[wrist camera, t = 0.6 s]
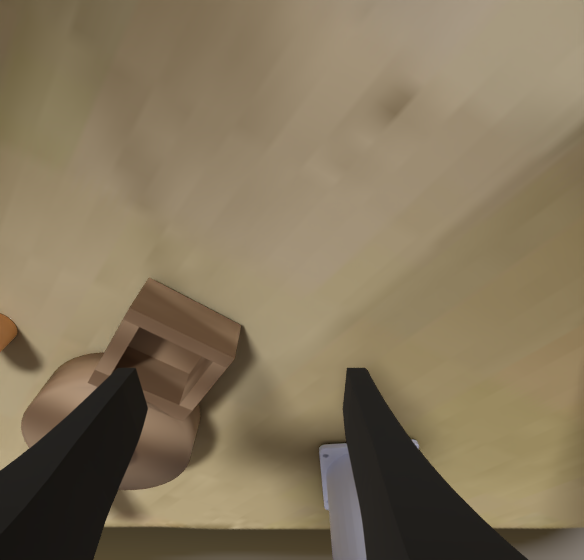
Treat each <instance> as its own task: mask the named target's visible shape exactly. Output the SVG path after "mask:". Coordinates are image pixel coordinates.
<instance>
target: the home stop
mask: <svg viewBox="0 0 584 560" xmlns="http://www.w3.org/2000/svg"><path fill="white" fill-rule="evenodd" d="M16 335H17V328H16V326H15V324H14V323H13V322H12V321H11V320H10V319H9V318H8V317H6V316H4V315H3V314H0V352H1V351H2V350H3V349H4V348H5V347H6V346H7V345H8V344H9V343H10V342H11V341H12V340H13V339H14V338H15V337H16Z"/></svg>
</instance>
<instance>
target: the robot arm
mask: <svg viewBox="0 0 584 560" xmlns="http://www.w3.org/2000/svg"><path fill="white" fill-rule="evenodd" d="M147 411H148V406H147V403H146V400H145V396H144V393H143V390H142V387H141V383H140V380H139V377H138V373H137V370H136V368H117V369H116V370H115V371H114V372H113V373H112V374H111V375H110V376H109V377H108V378H107V379H106V380H105V381H104V382H103V383H101V384H100V385H99V386H98V387H97V388H96V389H95V390H94V391H93V392H92V393H91V394H90V395H89V396H88V397H87V398H86V399H85V400H84V401H83V402H82V403H80V404H79V405H78V406H77V407H76V408H75V409H74V410H73V411H72V412H71V413H70V414H69V415H68V416H66V417H65V418H64V419H63V420H62V421H61V422H60V423H59V424H57V425H56V426H55V427H54V428H53V429H52V430H51V431H49V432H48V433H47V434H46V435H45V436H44V437H42V438H41V439H40V440H39V441H38V442H37V443H35V444H34V445H33V446H32V447H31V448H29V449H28V450H27V451H26V452H24V453H23V454H22V455H21V456H19V457H18V458H17V459H15V460H14V461H13V462H11V463H10V464H9V465H7V466H6V467H5V468H3V469H2V470H1V471H0V560H93V559H94V555H95V552H96V549H97V546H98V543H99V540H100V537H101V533H102V530H103V527H104V524H105V521H106V518H107V516H108V513H109V511H110V508H111V505H112V503H113V501H114V498H115V496H116V494H117V491H118V489H119V487H120V484H121V482H122V479H123V477H124V475H125V472H126V470H127V468H128V465H129V463H130V461H131V458H132V456H133V453H134V451H135V449H136V446H137V444H138V441H139V439H140V436H141V432H142V429H143V426H144V422H145V418H146V415H147ZM343 416H344V426H345V436H346V442H347V443H341V444H325V445H321V446H320V447H319V455H320V466H321V476H322V487H323V497H324V508H325V509H326V510H329V517H330V529H331V541H332V554H333V560H528V559H527V558H526V557H524V556H523V555H522V554H521V553H520V552H519V551H517V550H516V549H515V548H514V547H513V546H511V544H509V543H508V542H507V541H506V540H505V539H504V538H503V537H501V536H500V535H499V534H498V533H497V532H496V531H495V530H494V529H493V528H492V527H491V526H490V525H489V524H487V523H486V522H485V521H484V520H483V519H482V518H481V517H480V516H479V515H478V514H477V513H476V512H475V511H474V510H473V509H472V508H471V507H470V506H469V505H468V504H467V503H466V502H465V501H464V500H463V499H462V498H461V497H460V496H459V495H458V494H457V493H456V492H455V491H454V490H453V489H452V488H451V486H450V485H449V484H448V483H447V482H446V481H445V480H444V479H443V478H442V476H441V475H440V474H439V473H438V472H437V471H436V470H435V468H434V467H433V466H432V465H431V464H430V463H429V461H428V460H427V459H426V458H425V457H424V455H423V454H422V453H421V452H420V450H419V444H418V441H416V440H414V439H410V437H409V436H408V435H407V433H406V432H405V430H404V429H403V428H402V426H401V425H400V423H399V422H398V420H397V419H396V417H395V416H394V414H393V413H392V411H391V410H390V408H389V407H388V405H387V404H386V402H385V400H384V399H383V397H382V395H381V394H380V392H379V390H378V389H377V387H376V385H375V383H374V382H373V380H372V378H371V376H370V374H369V372H368V370H367V369H366V368H347V373H346V383H345V393H344V402H343Z"/></svg>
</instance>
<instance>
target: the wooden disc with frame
mask: <svg viewBox="0 0 584 560" xmlns="http://www.w3.org/2000/svg"><path fill="white" fill-rule="evenodd" d="M240 329H241V325H240V324H238V323H236V322H234V321H232V320H230V319H228V318H226V317H224V316H222V315H220V314H218V313H216V312H215V311H213V310H211V309H209V308H207V307H205V306H203V305H201V304H199V303H197V302H195V301H193V300H191V299H189V298H187V297H186V296H184V295H182V294H180V293H178V292H176V291H174V290H172V289H170V288H168V287H166V286H164V285H162V284H160V283H158V282H157V281H155V280H153V279H151V278H148V280H147V282H146V283H145V285H144V286H143V288H142V289H141V291H140V292H139V294H138V295H137V297H136V299H135V300H134V302H133V303H132V305H131V306H130V308H129V310H128V311H127V313H126V315H125V317H124V318H123V320H122V322H121V324H120V326H119V327H118V329H117V331H116V333H115V335H114V336H113V338H112V340H111V342H110V343H109V345H108V347H107V349H106V351H105V352H104V353H93V354H87V355H82V356H79V357H76V358H73V359H71V360H69V361H67V362H66V363H64V364H63V365H61V366H60V367H59V368H58V369H57V370H56V371H55V372H54V373H53V375H52V376H51V377H50V379H49V380H48V381H47V383H46V384H45V385H44V387H43V388H42V389H41V391H40V392H39V393H38V394H37V396H36V397H35V398H34V400H33V401H32V402H31V404H30V405H29V406H28V408H27V409H26V411H25V413H24V415H23V418H22V422H21V429H22V434H23V437H24V440H25V442H26V443H27V445H28V447H29V448H31V447H32V446H33V445H34V444H35V443H37V442H38V441H39V440H40V439H41V438H42V437H44V436H45V435H46V434H47V433H48V432H49V431H51V430H52V429H53V428H54V427H55V426H56V425H57V424H59V423H60V422H61V421H62V420H63V419H64V418H65V417H66V416H68V415H69V414H70V413H71V412H72V411H73V410H74V409H75V408H76V407H77V406H78V405H79V404H80V403H82V402H83V401H84V400H85V399H86V398H87V397H88V396H89V395H90V394H91V393H92V392H93V391H94V390H95V389H96V388H97V387H98V386H99V385H100V384H101V383H103V382H104V381H105V380H106V379H107V378H108V377H109V376H110V375H111V374H112V373H113V372H114V371H115V370H116V369H117V368H136V370H137V373H138V377H139V380H140V383H141V387H142V390H143V393H144V396H145V400H146V403H147V406H148V411H147V415H146V418H145V422H144V426H143V429H142V432H141V436H140V439H139V441H138V444H137V446H136V449H135V451H134V453H133V456H132V458H131V461H130V463H129V465H128V468H127V470H126V472H125V475H124V477H123V479H122V482H121V484H120V487H119V489H118V490H138V489H146V488H152V487H156V486H159V485H162V484H165V483H167V482H169V481H171V480H173V479H175V478H176V477H178V476H179V475H180V474H181V473H182V472H183V471H184V470H185V468H186V467H187V465H188V463H189V461H190V457H191V454H192V450H193V446H194V442H195V438H196V434H197V430H198V426H199V422H200V407H199V402H200V401H201V399H202V398H203V397H204V396H205V394H206V393H207V392H208V391H209V390H210V388H211V387H212V386H213V385H214V383H215V382H216V381H217V380H218V379H219V377H220V376H221V375H222V374H223V372H224V371H225V370H226V369H227V368H228V366H229V365H230V364H231V363H232V361H233V360H234V359H235V355H236V350H237V344H238V339H239V334H240Z"/></svg>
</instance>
